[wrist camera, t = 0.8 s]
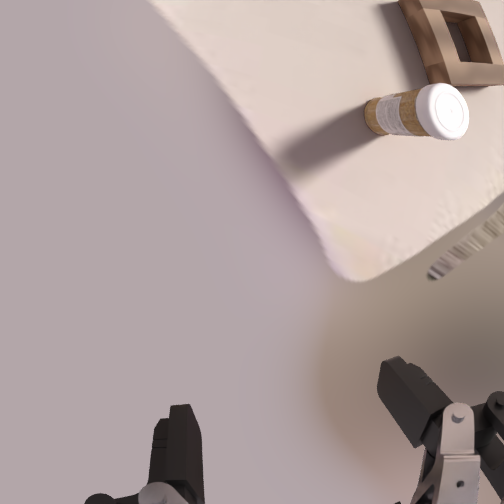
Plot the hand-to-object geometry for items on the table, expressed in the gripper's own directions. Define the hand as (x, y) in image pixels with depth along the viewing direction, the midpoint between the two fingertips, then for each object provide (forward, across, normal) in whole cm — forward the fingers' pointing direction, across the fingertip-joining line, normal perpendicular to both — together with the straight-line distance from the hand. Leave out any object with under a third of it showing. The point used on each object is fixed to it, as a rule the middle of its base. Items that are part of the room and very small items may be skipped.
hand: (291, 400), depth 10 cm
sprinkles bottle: (+21, -18, -13) cm, 31 cm away
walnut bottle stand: (+18, -31, -25) cm, 43 cm away
